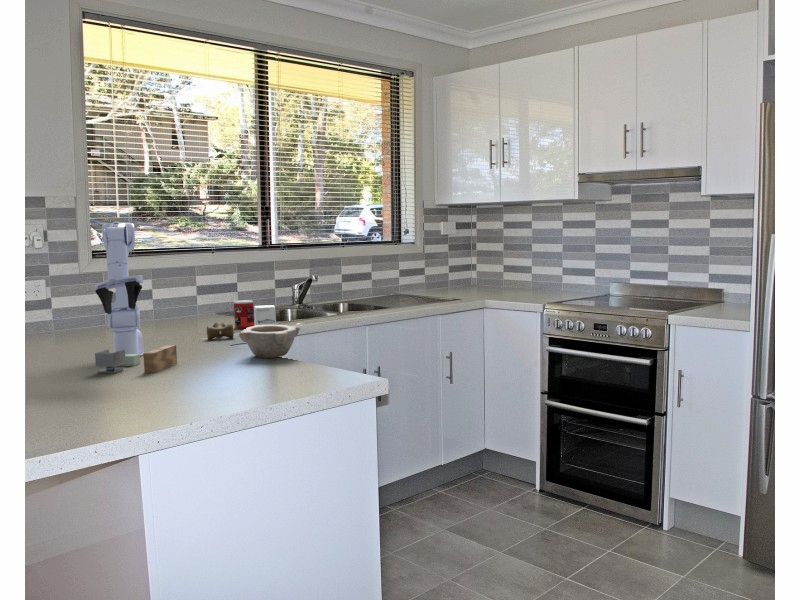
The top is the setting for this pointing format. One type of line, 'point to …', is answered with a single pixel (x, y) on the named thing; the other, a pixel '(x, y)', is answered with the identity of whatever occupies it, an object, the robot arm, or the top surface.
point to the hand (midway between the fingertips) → (120, 310)
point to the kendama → (220, 331)
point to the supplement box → (265, 315)
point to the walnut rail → (160, 358)
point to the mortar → (269, 339)
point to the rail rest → (131, 360)
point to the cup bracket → (110, 361)
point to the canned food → (244, 313)
